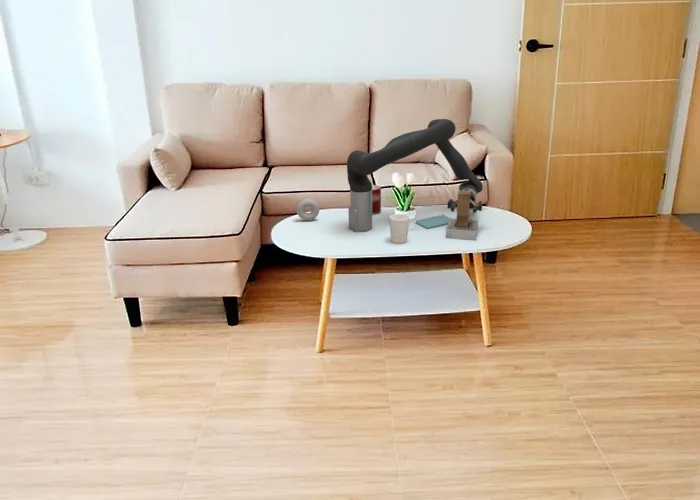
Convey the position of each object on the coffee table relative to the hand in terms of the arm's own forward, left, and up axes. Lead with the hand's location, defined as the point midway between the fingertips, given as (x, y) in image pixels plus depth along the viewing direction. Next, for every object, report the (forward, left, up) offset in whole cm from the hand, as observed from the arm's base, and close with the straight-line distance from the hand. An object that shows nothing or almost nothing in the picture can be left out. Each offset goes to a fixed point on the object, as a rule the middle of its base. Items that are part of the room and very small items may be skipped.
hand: (463, 210), depth 257 cm
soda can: (-18, +42, -10) cm, 47 cm away
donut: (-48, +48, -10) cm, 69 cm away
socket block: (-1, -1, -10) cm, 10 cm away
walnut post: (-1, -1, -10) cm, 10 cm away
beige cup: (-27, +7, -10) cm, 29 cm away
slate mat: (-2, +16, -10) cm, 19 cm away
